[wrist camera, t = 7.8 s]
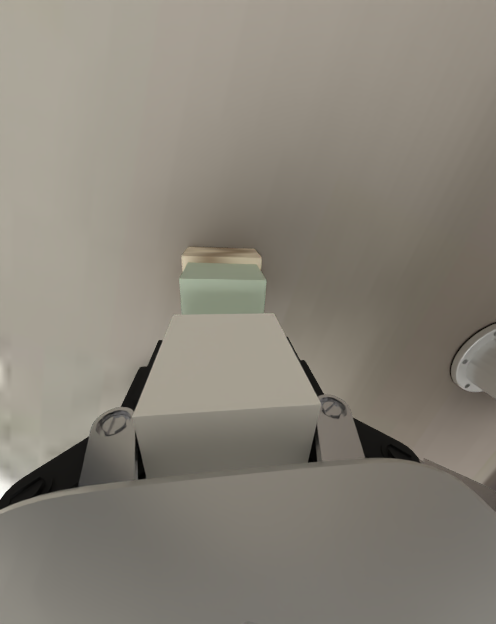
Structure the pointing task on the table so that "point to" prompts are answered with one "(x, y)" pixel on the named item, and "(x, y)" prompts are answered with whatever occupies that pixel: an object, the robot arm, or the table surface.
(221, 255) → the tower base
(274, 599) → the robot arm
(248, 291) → the tower mid
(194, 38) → the table surface
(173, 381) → the top block
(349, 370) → the table surface
